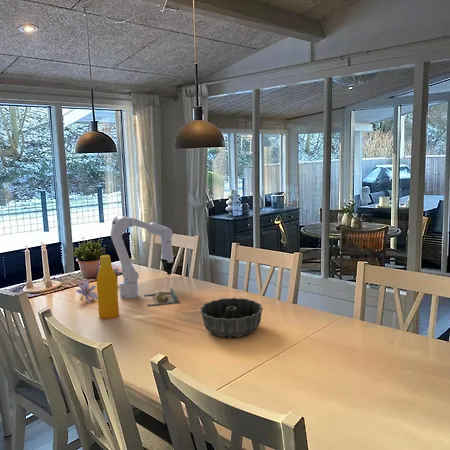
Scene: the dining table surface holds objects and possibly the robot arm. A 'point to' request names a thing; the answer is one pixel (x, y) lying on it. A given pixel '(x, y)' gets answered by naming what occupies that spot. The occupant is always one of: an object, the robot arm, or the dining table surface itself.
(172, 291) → the clear flat box
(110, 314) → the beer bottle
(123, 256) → the robot arm
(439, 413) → the dining table surface
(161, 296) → the maple cube
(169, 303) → the lane rails
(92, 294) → the water lily
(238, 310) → the bundt pan
